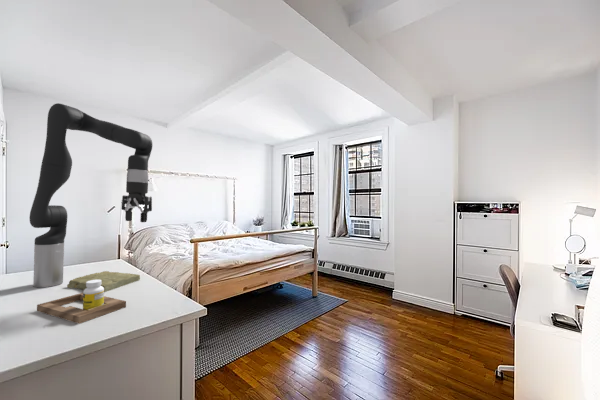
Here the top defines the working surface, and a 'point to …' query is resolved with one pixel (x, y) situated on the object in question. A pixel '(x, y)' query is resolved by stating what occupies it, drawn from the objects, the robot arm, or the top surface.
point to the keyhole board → (77, 313)
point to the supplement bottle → (93, 294)
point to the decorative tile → (105, 280)
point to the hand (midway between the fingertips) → (136, 221)
